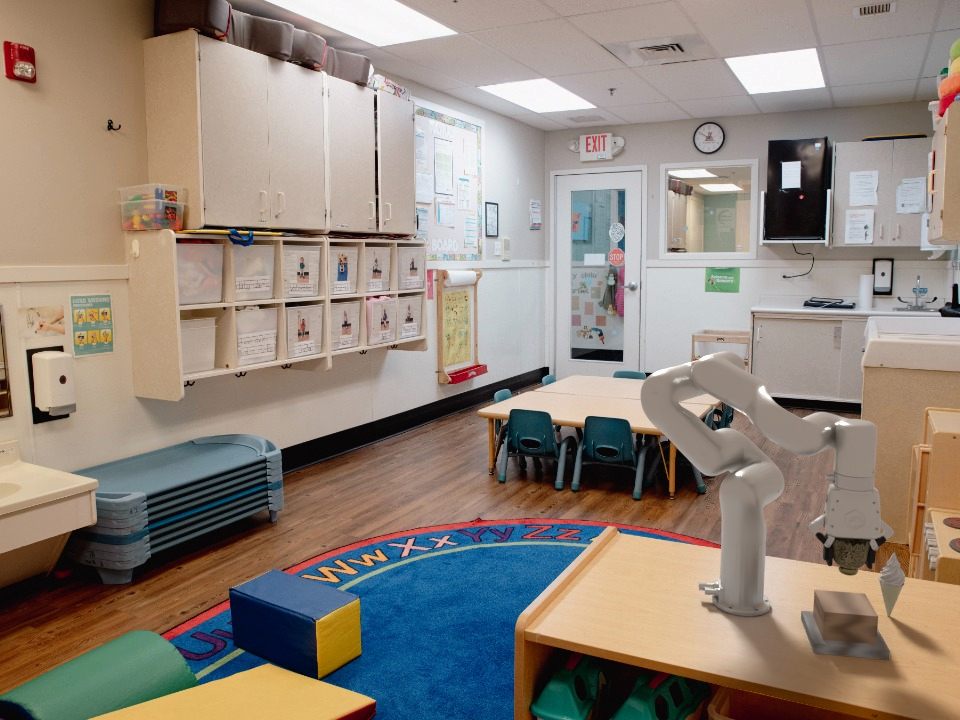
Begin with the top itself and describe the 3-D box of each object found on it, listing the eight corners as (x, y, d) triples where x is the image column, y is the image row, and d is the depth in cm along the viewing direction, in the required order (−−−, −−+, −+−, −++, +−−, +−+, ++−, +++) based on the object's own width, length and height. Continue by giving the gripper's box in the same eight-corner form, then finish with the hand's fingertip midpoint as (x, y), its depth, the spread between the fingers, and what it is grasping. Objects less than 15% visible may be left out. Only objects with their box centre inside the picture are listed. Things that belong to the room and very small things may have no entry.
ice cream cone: (905, 622, 168) (910, 556, 166) (879, 620, 169) (884, 555, 167) (897, 611, 173) (902, 547, 171) (873, 609, 174) (877, 545, 172)
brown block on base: (813, 652, 157) (815, 615, 156) (800, 619, 171) (802, 584, 169) (889, 659, 154) (892, 622, 153) (870, 625, 168) (872, 590, 166)
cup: (821, 566, 163) (823, 529, 162) (855, 564, 164) (857, 528, 163) (840, 581, 156) (842, 544, 155) (875, 580, 156) (878, 542, 155)
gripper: (810, 484, 155) (806, 569, 158) (906, 489, 151) (900, 575, 154) (803, 473, 162) (799, 554, 165) (894, 477, 158) (889, 560, 161)
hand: (848, 564), depth 160 cm, fingers closed on cup, 6 cm apart
